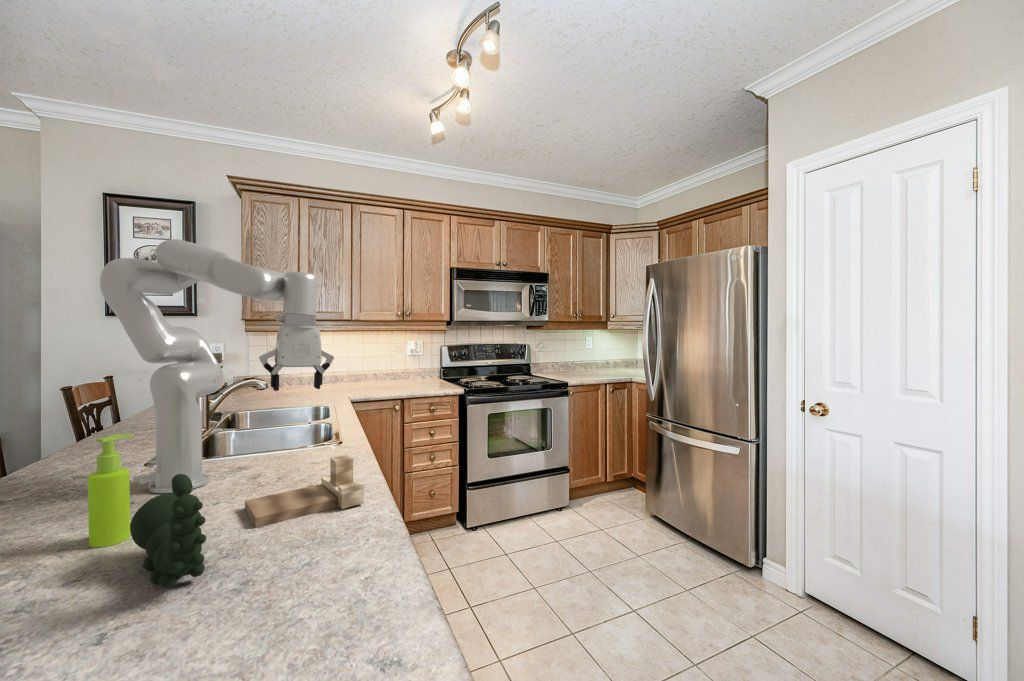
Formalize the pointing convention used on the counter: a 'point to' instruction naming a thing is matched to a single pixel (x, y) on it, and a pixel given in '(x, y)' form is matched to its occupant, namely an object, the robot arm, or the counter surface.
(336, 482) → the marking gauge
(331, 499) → the walnut board
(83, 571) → the counter surface
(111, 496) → the soap dispenser
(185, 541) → the toy figurine
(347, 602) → the counter surface
